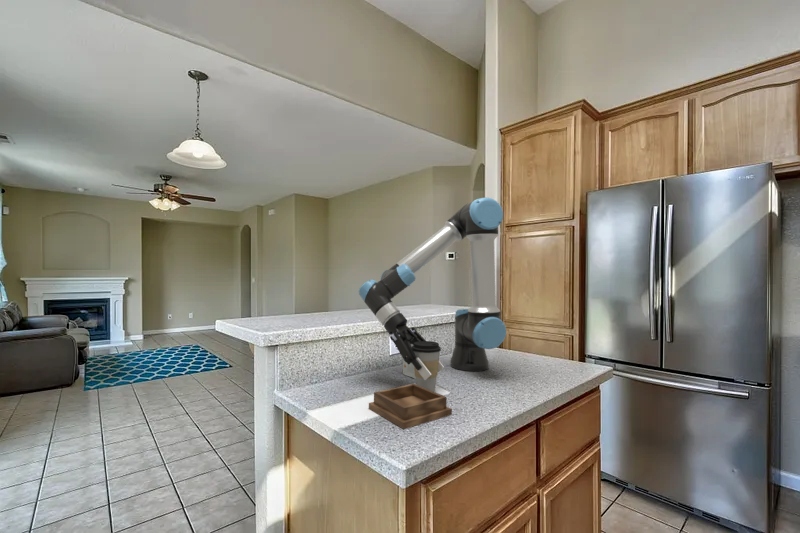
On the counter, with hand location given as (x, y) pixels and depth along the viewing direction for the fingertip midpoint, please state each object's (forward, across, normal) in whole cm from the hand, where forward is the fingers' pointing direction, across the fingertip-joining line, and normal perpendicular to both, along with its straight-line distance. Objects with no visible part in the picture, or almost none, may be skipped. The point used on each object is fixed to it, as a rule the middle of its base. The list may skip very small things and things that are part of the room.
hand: (434, 373), depth 115 cm
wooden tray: (+4, +18, -4) cm, 19 cm away
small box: (-5, -14, -14) cm, 20 cm away
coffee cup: (+2, 0, -6) cm, 7 cm away
